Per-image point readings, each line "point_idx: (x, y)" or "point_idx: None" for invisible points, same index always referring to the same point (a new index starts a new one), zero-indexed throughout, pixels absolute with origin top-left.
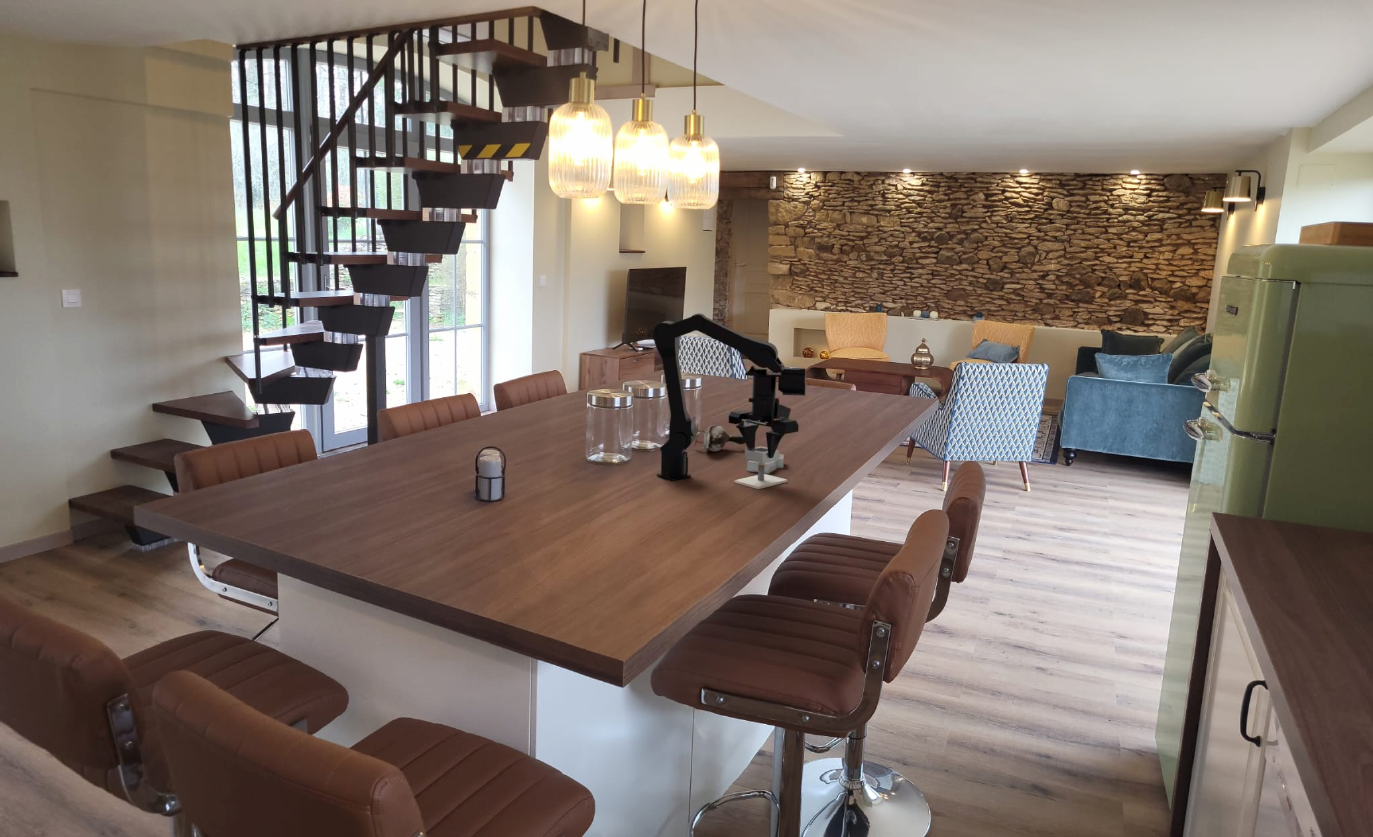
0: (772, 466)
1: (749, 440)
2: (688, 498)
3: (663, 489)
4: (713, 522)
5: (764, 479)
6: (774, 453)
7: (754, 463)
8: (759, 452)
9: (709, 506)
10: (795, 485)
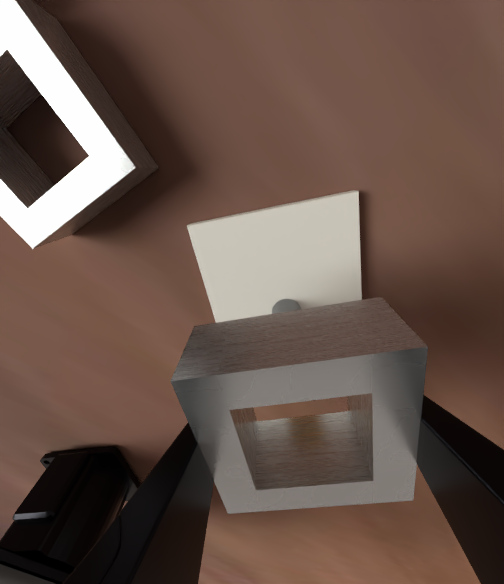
0: (95, 94)
1: (189, 567)
2: (313, 529)
3: (214, 530)
4: None
5: (287, 292)
6: (441, 409)
7: (68, 223)
8: (367, 498)
9: (399, 529)
10: (431, 196)
